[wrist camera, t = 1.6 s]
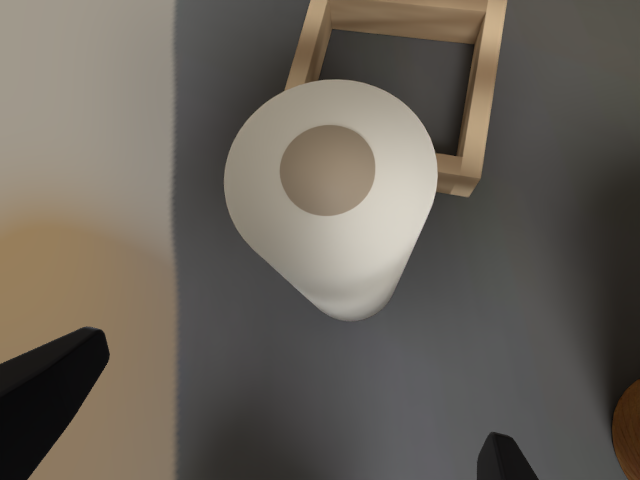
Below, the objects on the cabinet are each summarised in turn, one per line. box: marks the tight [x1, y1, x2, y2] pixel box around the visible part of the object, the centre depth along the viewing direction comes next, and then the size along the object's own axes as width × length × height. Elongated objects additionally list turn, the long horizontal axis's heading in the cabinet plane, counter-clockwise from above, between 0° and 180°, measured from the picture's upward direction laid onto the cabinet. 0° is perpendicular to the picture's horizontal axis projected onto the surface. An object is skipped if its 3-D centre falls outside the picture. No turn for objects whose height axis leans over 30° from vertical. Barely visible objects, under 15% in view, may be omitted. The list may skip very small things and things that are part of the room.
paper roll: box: [224, 79, 438, 321], centre depth 16 cm, size 5×5×13 cm
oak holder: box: [285, 0, 507, 197], centre depth 23 cm, size 11×11×2 cm
